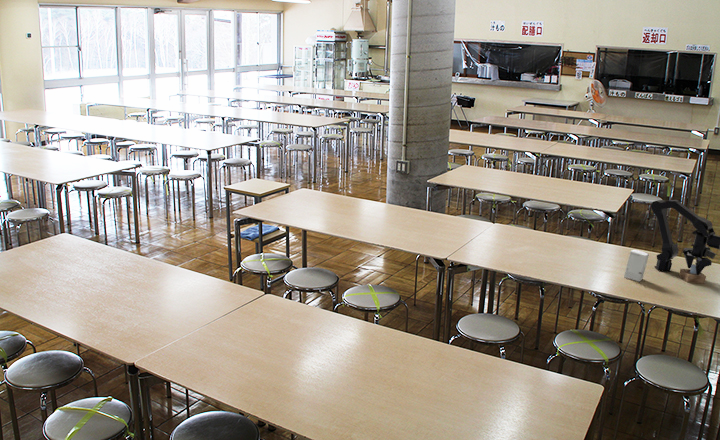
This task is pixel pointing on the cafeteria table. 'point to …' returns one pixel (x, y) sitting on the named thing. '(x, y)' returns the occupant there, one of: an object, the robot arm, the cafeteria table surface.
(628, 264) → the skincare box
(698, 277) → the socket block
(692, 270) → the peg
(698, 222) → the robot arm
